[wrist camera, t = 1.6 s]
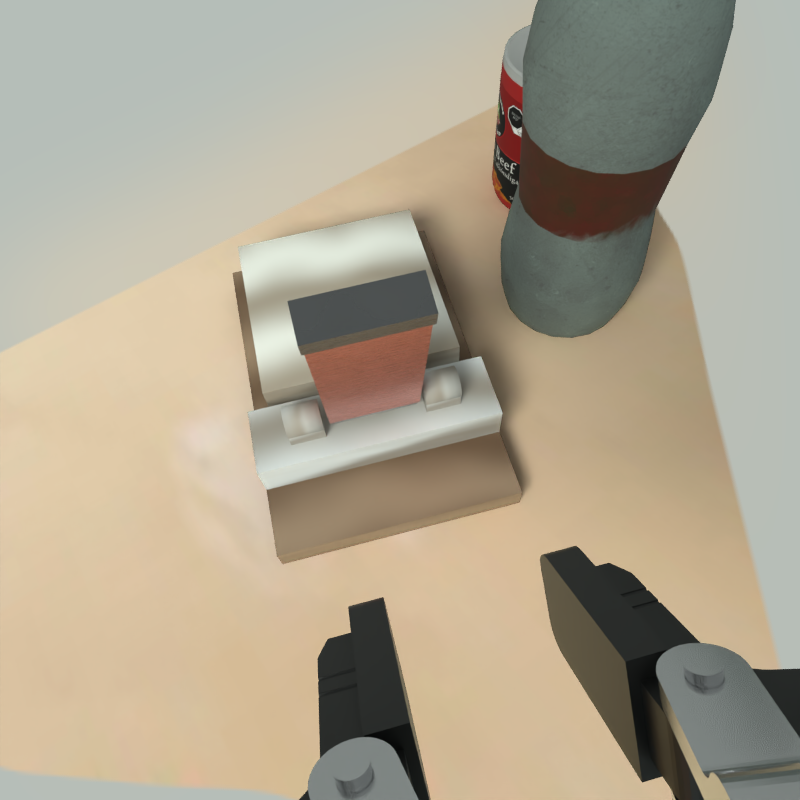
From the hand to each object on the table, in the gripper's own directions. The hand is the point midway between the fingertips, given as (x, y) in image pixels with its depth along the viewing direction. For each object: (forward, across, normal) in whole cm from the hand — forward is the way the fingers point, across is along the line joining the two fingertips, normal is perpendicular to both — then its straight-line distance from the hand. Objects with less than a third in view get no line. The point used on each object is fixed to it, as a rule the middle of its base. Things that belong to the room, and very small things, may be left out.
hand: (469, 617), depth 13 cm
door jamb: (+30, 0, +2) cm, 30 cm away
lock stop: (+23, 0, +1) cm, 23 cm away
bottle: (+33, -15, -1) cm, 36 cm away
